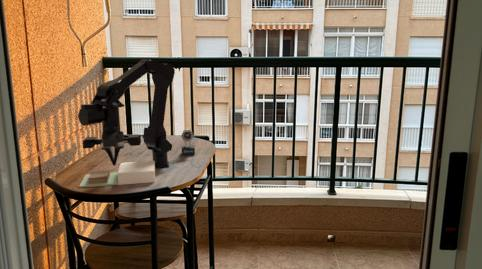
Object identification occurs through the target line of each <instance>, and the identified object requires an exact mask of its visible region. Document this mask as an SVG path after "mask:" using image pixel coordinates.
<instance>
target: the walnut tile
mask: <svg viewBox="0 0 482 269" xmlns="http://www.w3.org/2000/svg"><path fill="white" fill-rule="evenodd" d="M110 173H111V170H110V168H107V169H95V170H93V169H92V170H91V172H90V173H89V174H90V176H89V178H88V180H89V184H95V183H108V180H109V176H110Z"/></svg>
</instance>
